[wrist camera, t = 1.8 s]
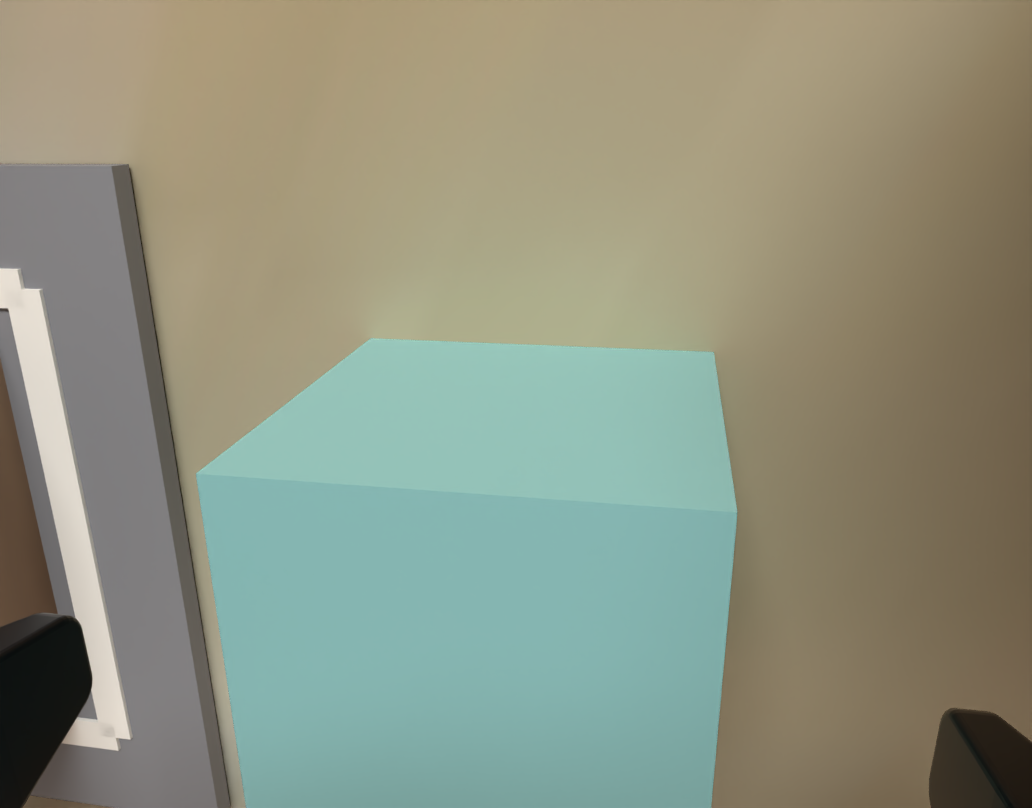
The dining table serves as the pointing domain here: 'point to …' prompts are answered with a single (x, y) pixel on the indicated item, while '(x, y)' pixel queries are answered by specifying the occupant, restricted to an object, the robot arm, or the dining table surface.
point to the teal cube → (478, 580)
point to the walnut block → (19, 530)
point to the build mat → (105, 488)
